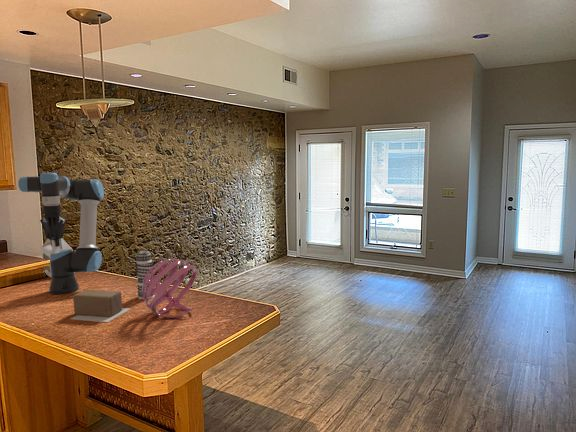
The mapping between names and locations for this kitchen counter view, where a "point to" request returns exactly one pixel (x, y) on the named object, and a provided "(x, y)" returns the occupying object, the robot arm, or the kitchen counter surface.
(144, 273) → the decorative candle
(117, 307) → the wooden block
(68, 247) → the gable box
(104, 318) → the mat
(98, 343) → the kitchen counter surface
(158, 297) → the spiral basket
